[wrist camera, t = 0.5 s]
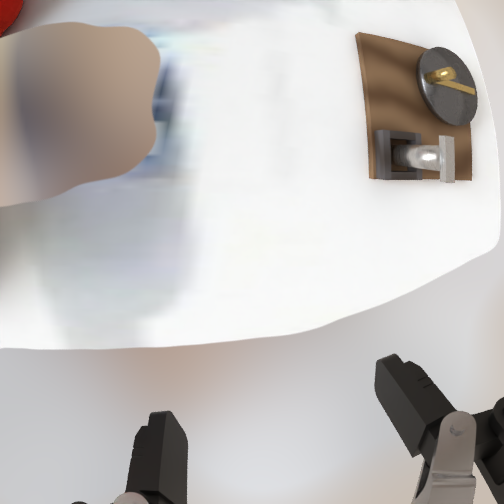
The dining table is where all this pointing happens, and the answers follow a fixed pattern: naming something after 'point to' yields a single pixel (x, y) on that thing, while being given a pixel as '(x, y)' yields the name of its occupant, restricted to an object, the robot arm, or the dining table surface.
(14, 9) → the tomato
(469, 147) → the board
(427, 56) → the handwheel
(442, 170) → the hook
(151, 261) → the dining table surface
